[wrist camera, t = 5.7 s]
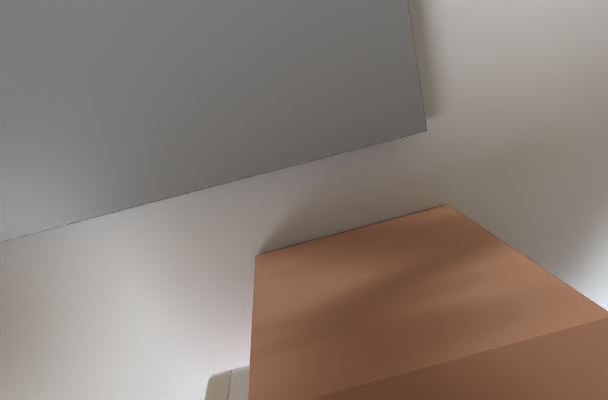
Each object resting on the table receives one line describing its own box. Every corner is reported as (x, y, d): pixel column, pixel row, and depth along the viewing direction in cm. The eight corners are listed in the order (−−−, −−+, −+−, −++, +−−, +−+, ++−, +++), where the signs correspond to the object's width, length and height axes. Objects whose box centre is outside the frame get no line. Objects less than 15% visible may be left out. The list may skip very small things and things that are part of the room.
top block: (447, 204, 10) (613, 315, 5) (470, 363, 12) (615, 563, 7) (255, 256, 10) (246, 416, 5) (303, 409, 11) (330, 645, 7)
